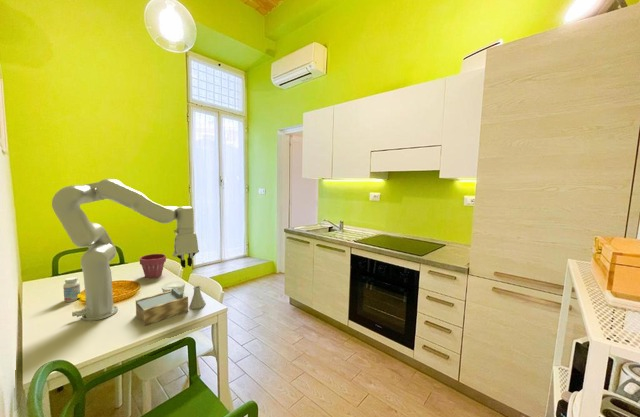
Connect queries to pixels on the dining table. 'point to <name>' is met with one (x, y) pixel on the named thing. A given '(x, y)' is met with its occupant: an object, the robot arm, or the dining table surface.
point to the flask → (197, 299)
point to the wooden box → (161, 309)
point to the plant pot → (153, 265)
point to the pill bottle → (71, 289)
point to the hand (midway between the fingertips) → (186, 266)
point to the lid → (161, 299)
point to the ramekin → (174, 286)
